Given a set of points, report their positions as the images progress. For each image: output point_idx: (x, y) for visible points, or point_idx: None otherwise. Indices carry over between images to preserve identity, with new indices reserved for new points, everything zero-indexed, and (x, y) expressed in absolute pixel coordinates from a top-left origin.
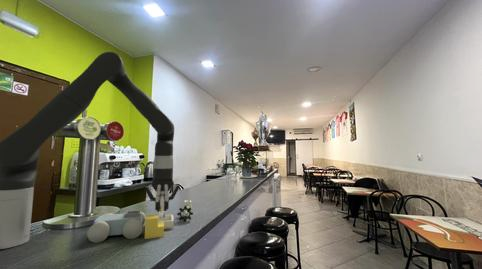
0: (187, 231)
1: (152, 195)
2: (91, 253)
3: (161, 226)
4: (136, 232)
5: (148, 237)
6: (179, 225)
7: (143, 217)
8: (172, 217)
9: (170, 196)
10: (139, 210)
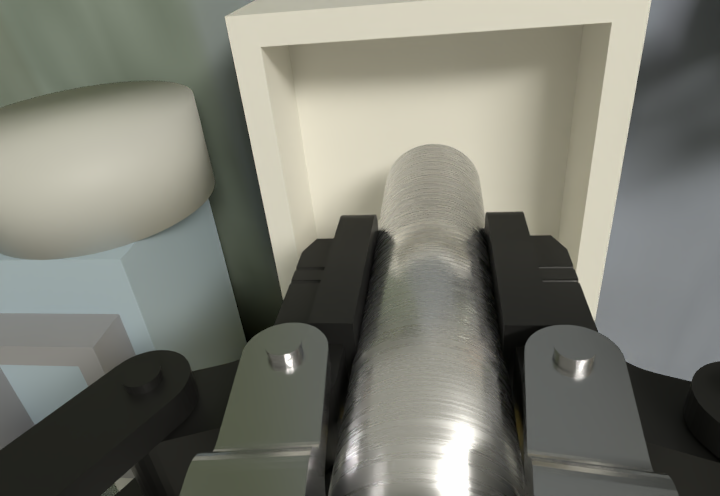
0: (693, 374)
1: (108, 475)
2: None
3: None
4: None
5: None
6: (669, 176)
7: (174, 216)
8: (603, 189)
9: (692, 493)
10: (90, 368)
